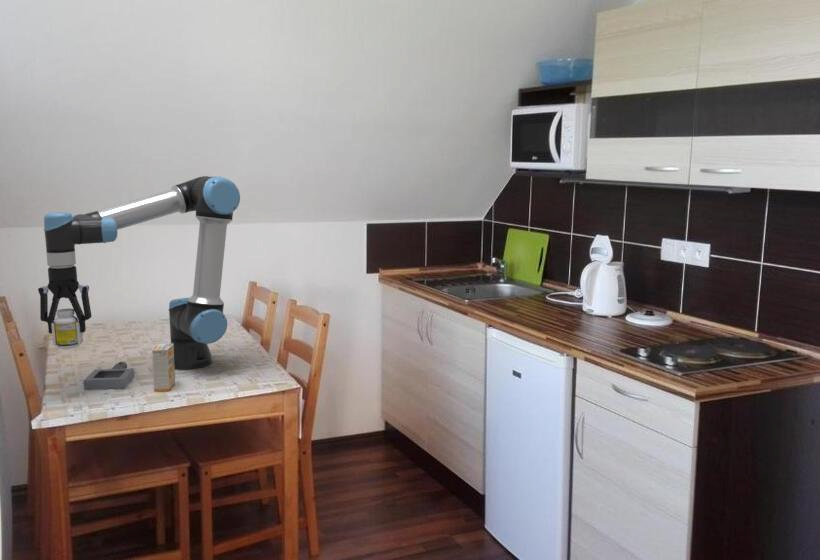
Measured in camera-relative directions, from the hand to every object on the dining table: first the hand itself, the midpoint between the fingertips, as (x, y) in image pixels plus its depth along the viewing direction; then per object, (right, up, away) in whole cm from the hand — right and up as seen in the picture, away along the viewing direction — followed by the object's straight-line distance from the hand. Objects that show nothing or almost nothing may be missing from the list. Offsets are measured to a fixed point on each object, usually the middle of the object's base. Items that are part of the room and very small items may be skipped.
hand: (68, 343), depth 220 cm
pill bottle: (0, -1, 0) cm, 1 cm away
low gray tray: (+6, -14, +20) cm, 25 cm away
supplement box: (+25, -15, +12) cm, 31 cm away
